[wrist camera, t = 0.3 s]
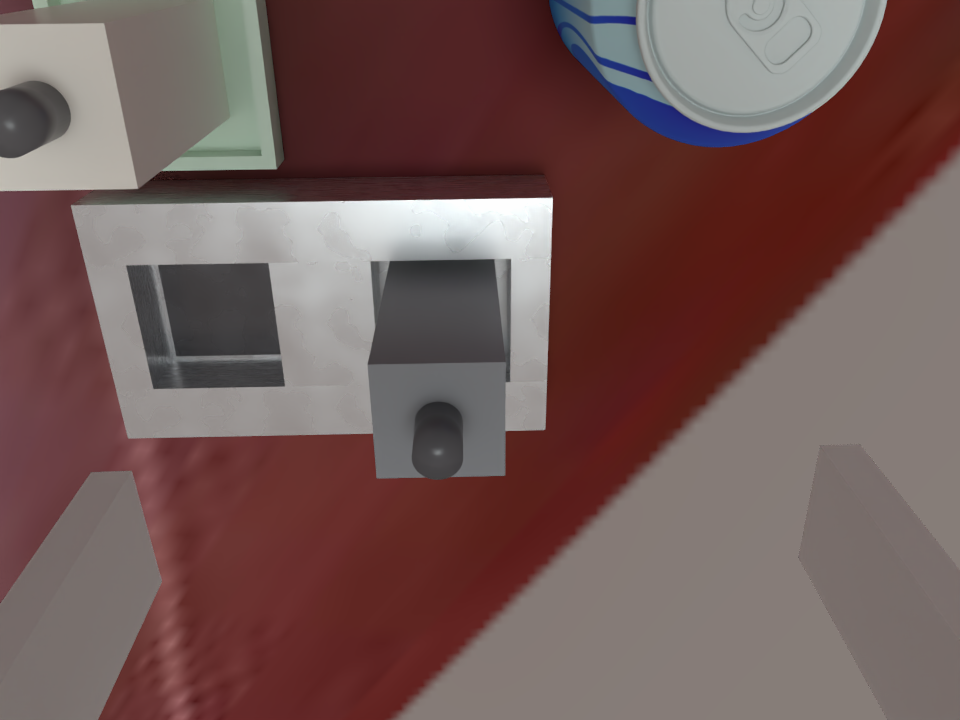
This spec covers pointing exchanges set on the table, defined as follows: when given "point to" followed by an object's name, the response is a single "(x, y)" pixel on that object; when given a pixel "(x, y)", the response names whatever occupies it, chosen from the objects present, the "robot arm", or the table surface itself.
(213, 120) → the plug
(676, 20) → the beer can
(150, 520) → the table surface
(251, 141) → the tray
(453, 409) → the twin plug
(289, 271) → the metal socket frame
